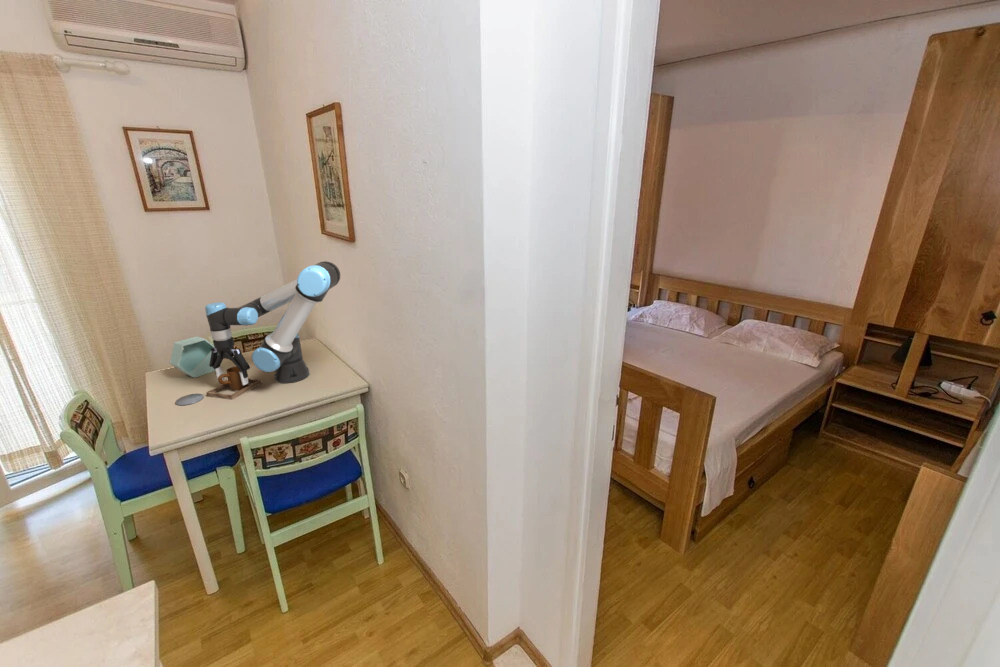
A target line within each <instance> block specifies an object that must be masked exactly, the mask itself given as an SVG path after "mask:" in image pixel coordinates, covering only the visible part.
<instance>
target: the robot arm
mask: <svg viewBox="0 0 1000 667" xmlns="http://www.w3.org/2000/svg"><path fill="white" fill-rule="evenodd" d="M340 280H341V271H340V269H339V267H338V266H337V265H336V264H334V263H333V262H331V261H328V260H327V261H326V260H325V261H320V262H318V263H316V264H312V265H309V266H307V267H305V268H304V269H303V270H301V271H300V272H299V273H298V275H297V278H296V279H295V280H293V281H290V282H288V283H286V284H284V285H283V286H280V287H278V288H276V289H274V290H272V291H269V292H268V293H266V294H265V295H262V296H260V297H257V298H256V299H254V300H252V301H250V302H248V303H245V304H243V305H241V306H237V307H227V306H226V304H225V302H222V301H221V302H219V301H217V302H213V303H207V304H206V305H205V307H204V309H205V314H206V315H205V316H206V319H207V322H208V325H209V331H210V335H211V339H212V342H213V345H214V348H211V358H210V364H209V366H210V367H213V368H214V369H215V371H214V372H215V375H216V378H217V380H218V377H219V376H220V375H221V374H224V373H223V372H224V371H223V367H222V366H221V364H222V362H223V360H225V359H227V360H229V361H231V362H232V363H233V364H234V366H237V367H238V368H239V369H240V376H241V381H242V385H246V384H248V383H249V382H248V378H249V377H248V376H249V375H248V370H250V369H251V366H250V365H249V363H248V362H247V360H246V358H245V357H244V355H243V354H242V351H241V349H240V348H238V349H235V348H234V346H235V340H234V337H233V331H232V328H231V326H245V327H246V326H253V325H255V324H256V323H257V322H258V319H259V318H260V317H262V316H263V315H267V314H268V313H270V312H272V311H275V310H276V309H278V308H281V307H283V306H285V305H287V304H288V307H287V308H286V310H285V312H284V314H282V316H281V319H280V320H279V322H278V323H277V325H276V327H275V328H274V330H273V332H271V333H269V334H268V335H266V336H265V338H264V339H263V341H262V343H261V344H260V346H259V347H257V348H256V349H255V350H254V351H253V352H252V354H251V360H252V362H253V364H254V366H255V367H256V368H257V369H258V370H260V371H262V372H265V373H271V372H274V371H275V372H274V381H275V382H276V383H279V384H290V383H291V384H292V383H296V382H300V381H303V380H305V379H306V378H308V377H309V376H310V375H311V374H310V368H309V367H308V366H307V363H306V362H305V360H304V356H303V351H302V346H301V341H300V338H301V337H300V336H299V332H300V330H301V329H302V327H303V325H304V324H305V322H306V320H307V319H308V318H309V316H310V314H311V312H312V311H313V310H314V308H315V306H316V304H317V303H322V302H323V300H324V298H325V297H326V296H327V293H328V292H329V291H330V289H332V288H334V287H335V286H337V285H338V284H339V282H340ZM289 303H290V304H289ZM242 368H243V369H242ZM222 380H223V381H226V379H225V377H223V378H222ZM249 384H250V383H249Z"/></svg>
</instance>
